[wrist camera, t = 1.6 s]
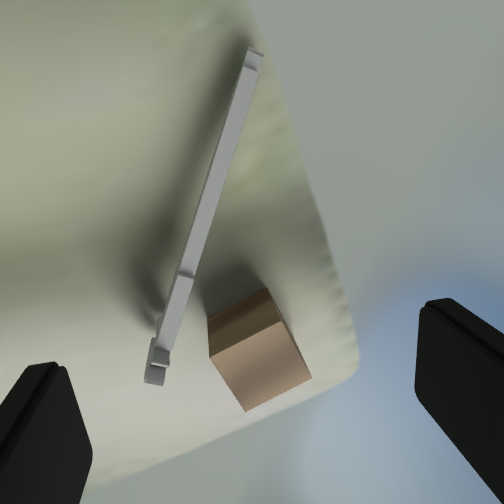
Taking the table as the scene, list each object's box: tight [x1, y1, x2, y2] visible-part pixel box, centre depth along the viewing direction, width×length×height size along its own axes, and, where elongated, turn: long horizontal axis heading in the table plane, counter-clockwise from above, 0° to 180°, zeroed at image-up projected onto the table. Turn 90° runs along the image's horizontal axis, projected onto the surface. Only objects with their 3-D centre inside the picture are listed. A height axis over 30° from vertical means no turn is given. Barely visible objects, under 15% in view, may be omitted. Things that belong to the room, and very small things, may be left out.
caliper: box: [144, 47, 264, 386], centre depth 21 cm, size 20×1×6 cm, turn 160°
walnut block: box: [207, 288, 312, 412], centre depth 26 cm, size 5×5×5 cm
